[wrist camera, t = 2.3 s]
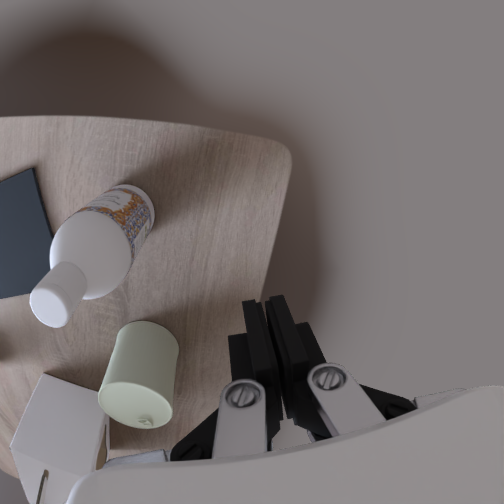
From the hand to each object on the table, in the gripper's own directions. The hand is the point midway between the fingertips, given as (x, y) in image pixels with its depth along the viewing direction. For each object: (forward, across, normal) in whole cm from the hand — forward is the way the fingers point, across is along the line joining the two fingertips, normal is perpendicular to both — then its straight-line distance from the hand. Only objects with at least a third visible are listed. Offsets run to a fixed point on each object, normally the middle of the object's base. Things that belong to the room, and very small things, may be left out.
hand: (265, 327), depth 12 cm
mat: (+24, +34, 0) cm, 41 cm away
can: (+24, +15, +19) cm, 34 cm away
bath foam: (+24, +12, 0) cm, 27 cm away
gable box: (+24, +36, +36) cm, 56 cm away
